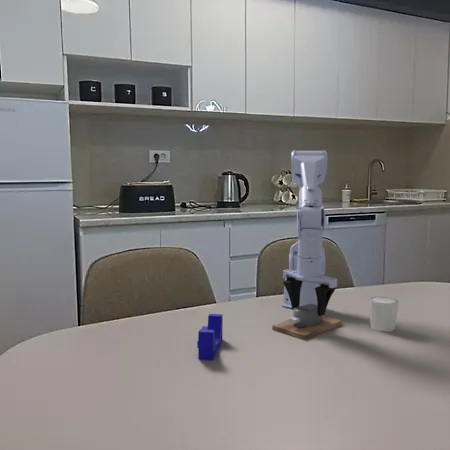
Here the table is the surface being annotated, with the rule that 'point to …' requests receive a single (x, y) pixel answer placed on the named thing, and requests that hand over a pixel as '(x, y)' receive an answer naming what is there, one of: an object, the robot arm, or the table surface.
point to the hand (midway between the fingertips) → (308, 311)
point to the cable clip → (210, 337)
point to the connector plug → (305, 316)
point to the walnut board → (309, 331)
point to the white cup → (383, 313)
